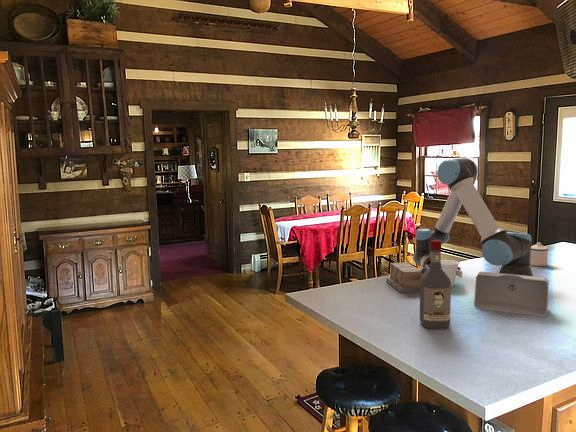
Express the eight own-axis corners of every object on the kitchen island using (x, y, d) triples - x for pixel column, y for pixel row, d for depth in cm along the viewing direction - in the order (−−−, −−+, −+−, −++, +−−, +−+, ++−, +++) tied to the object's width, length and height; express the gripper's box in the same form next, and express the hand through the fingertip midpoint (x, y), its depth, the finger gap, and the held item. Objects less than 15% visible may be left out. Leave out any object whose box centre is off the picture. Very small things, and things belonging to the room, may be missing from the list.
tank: (547, 304, 184) (548, 273, 182) (547, 317, 170) (548, 283, 168) (479, 296, 196) (480, 267, 194) (473, 307, 182) (474, 276, 180)
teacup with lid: (547, 263, 251) (548, 241, 249) (547, 266, 243) (548, 244, 241) (522, 261, 256) (523, 240, 255) (522, 265, 248) (522, 243, 247)
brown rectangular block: (386, 281, 222) (386, 263, 221) (410, 280, 223) (411, 262, 222) (399, 292, 204) (399, 272, 203) (425, 291, 205) (426, 271, 204)
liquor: (418, 320, 169) (419, 238, 166) (443, 319, 169) (445, 238, 165) (424, 329, 160) (426, 243, 157) (451, 329, 160) (453, 242, 156)
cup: (455, 282, 217) (455, 259, 216) (461, 288, 208) (461, 264, 206) (433, 282, 218) (433, 259, 217) (438, 288, 209) (438, 264, 207)
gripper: (451, 270, 232) (474, 282, 209) (410, 272, 229) (428, 284, 207) (451, 255, 231) (474, 265, 208) (410, 257, 228) (429, 268, 206)
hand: (451, 275), depth 208 cm, fingers closed on cup, 8 cm apart
